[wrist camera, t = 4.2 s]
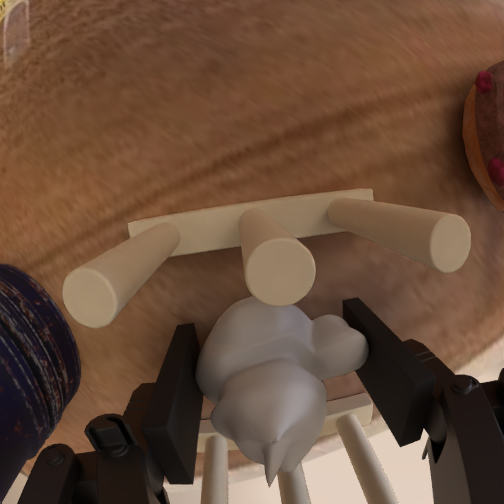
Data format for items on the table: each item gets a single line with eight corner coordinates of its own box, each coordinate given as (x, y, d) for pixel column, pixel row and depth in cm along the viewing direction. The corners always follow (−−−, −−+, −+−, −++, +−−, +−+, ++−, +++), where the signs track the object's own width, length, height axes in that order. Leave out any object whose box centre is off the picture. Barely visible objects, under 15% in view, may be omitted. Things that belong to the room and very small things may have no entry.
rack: (135, 220, 13) (19, 267, 5) (361, 188, 13) (497, 199, 5) (195, 438, 16) (182, 557, 8) (364, 411, 16) (419, 515, 8)
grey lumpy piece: (179, 304, 13) (125, 439, 5) (326, 253, 13) (431, 345, 5) (224, 396, 14) (222, 536, 7) (351, 355, 14) (425, 475, 6)
